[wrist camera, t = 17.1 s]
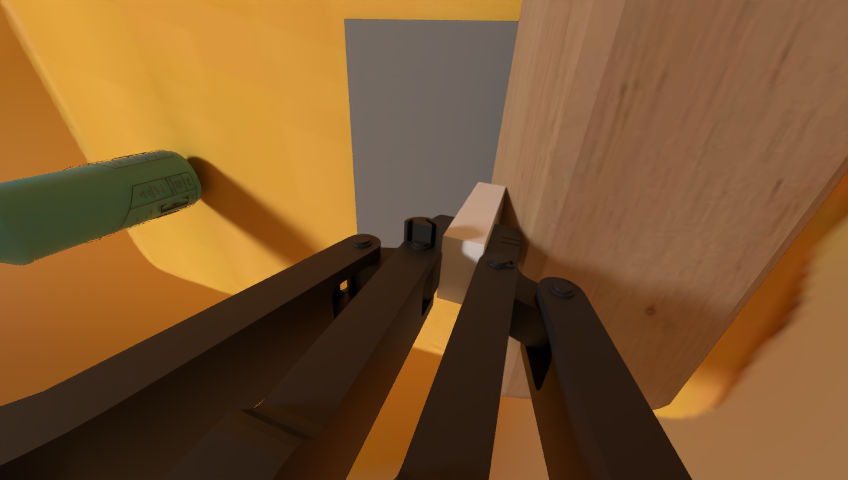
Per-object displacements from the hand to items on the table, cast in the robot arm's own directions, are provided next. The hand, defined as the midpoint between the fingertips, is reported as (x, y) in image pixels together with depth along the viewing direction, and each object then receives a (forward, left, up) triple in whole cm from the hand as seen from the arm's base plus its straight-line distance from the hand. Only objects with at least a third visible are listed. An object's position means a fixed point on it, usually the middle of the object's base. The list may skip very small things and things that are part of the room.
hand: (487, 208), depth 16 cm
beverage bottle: (+6, -35, -8) cm, 36 cm away
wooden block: (-11, +5, -2) cm, 12 cm away
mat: (0, -2, -8) cm, 8 cm away
